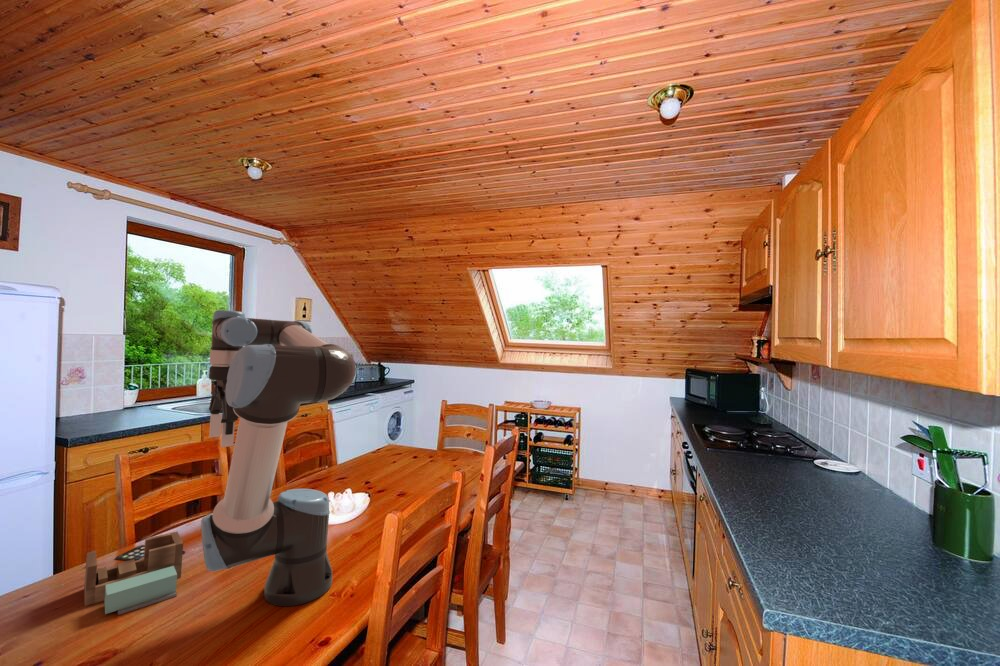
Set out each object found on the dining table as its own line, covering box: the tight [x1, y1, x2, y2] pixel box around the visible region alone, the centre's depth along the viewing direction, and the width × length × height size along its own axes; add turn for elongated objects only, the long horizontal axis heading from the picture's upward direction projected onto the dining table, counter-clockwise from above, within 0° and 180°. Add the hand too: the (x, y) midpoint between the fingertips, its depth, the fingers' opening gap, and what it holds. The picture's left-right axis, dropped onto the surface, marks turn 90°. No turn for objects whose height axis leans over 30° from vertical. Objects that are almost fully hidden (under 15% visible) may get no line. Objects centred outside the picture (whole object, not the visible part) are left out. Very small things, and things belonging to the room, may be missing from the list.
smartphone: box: [115, 544, 186, 562], centre depth 112 cm, size 7×1×15 cm
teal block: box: [103, 566, 178, 615], centre depth 93 cm, size 12×5×4 cm, turn 136°
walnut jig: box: [83, 531, 184, 607], centre depth 99 cm, size 17×8×8 cm, turn 136°
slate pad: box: [117, 591, 178, 616], centre depth 94 cm, size 7×10×1 cm
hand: (220, 441), depth 114 cm, fingers open, 13 cm apart
